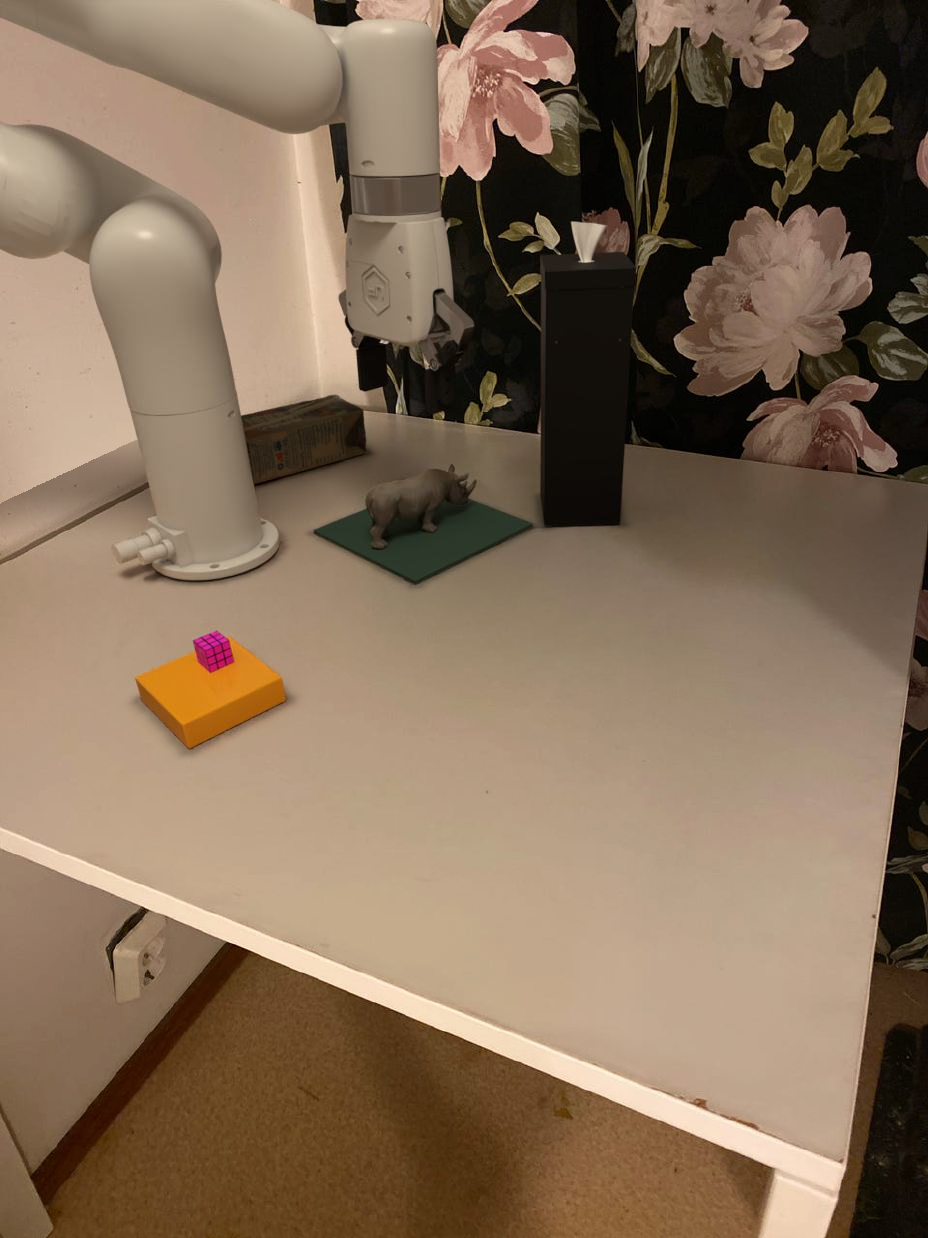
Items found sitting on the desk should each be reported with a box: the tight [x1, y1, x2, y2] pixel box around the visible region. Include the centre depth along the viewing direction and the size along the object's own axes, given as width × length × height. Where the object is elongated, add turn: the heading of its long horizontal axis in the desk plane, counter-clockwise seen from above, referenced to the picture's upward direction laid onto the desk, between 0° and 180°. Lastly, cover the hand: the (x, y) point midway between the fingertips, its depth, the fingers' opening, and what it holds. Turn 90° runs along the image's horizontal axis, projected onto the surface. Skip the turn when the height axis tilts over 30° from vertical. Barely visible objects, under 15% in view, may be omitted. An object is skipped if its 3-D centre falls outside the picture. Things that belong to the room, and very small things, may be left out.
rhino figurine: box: [365, 463, 477, 549], centre depth 87 cm, size 4×14×6 cm, turn 126°
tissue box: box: [539, 221, 637, 527], centre depth 84 cm, size 8×8×28 cm
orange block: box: [134, 630, 287, 749], centre depth 64 cm, size 8×8×4 cm
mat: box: [313, 497, 534, 585], centre depth 89 cm, size 16×16×1 cm
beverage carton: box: [241, 394, 368, 485], centre depth 104 cm, size 8×19×7 cm, turn 126°
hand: (406, 398), depth 82 cm, fingers open, 9 cm apart
